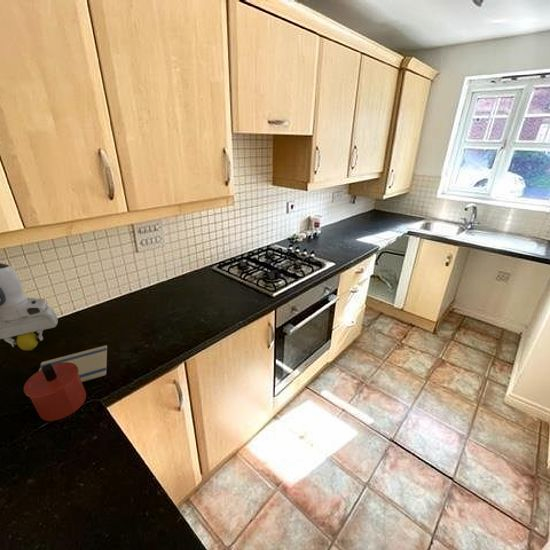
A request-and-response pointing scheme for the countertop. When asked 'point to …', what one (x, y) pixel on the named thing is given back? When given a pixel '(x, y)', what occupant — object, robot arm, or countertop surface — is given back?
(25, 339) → the lemon
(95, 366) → the towel
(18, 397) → the countertop surface
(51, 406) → the pot
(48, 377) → the pot lid
